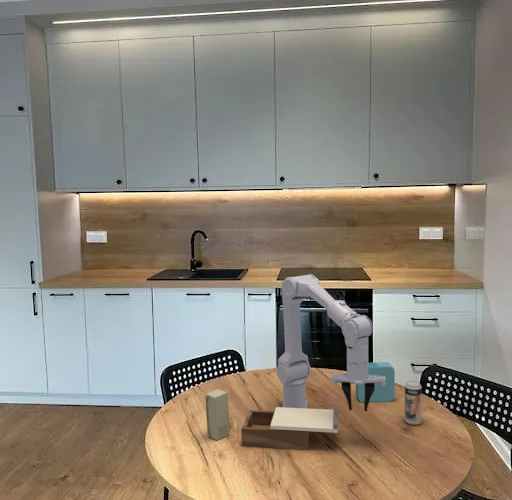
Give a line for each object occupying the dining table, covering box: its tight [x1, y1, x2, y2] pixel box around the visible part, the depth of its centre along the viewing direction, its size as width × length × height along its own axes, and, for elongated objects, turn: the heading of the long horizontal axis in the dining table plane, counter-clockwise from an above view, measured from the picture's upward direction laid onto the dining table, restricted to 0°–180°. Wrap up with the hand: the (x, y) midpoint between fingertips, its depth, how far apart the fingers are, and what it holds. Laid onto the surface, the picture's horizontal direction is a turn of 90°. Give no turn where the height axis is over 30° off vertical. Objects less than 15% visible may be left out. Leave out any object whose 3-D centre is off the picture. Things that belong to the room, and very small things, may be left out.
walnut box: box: [241, 409, 311, 451], centre depth 136 cm, size 12×18×5 cm, turn 80°
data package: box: [355, 361, 396, 403], centre depth 161 cm, size 12×4×12 cm, turn 90°
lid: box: [270, 405, 339, 434], centre depth 135 cm, size 12×18×2 cm, turn 80°
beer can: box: [404, 380, 423, 426], centre depth 143 cm, size 5×5×12 cm
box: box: [205, 388, 231, 441], centre depth 138 cm, size 5×4×13 cm
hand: (358, 409), depth 132 cm, fingers open, 3 cm apart
